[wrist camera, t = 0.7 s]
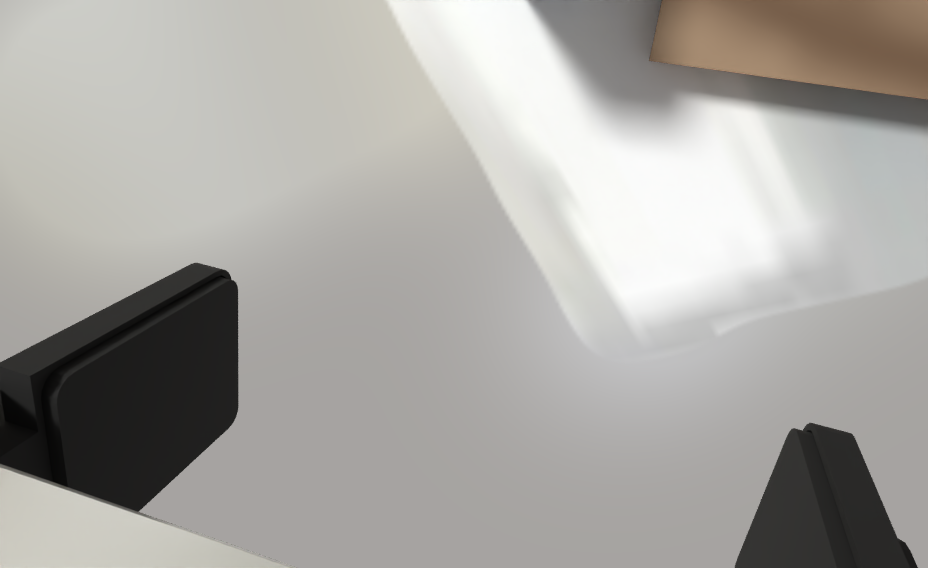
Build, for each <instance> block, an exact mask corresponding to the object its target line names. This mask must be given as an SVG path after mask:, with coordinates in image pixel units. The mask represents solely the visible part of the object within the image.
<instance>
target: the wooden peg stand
mask: <svg viewBox="0 0 928 568" xmlns="http://www.w3.org/2000/svg"><path fill="white" fill-rule="evenodd" d="M649 61H654V62H662V63H669V64H676V65H683V66H690V67H697V68H705V69H712V70H719V71H726V72H733V73H741V74H748V75H755V76H762V77H769V78H776V79H784V80H791V81H798V82H805V83H812V84H820V85H827V86H834V87H841V88H848V89H856V90H863V91H870V92H877V93H884V94H891V95H899V96H906V97H913V98H920V99H927V100H928V0H662V2H661V7H660V12H659V17H658V21H657V26H656V31H655V35H654V40H653V45H652V49H651V54H650V59H649Z"/></svg>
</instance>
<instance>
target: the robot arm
mask: <svg viewBox="0 0 928 568" xmlns="http://www.w3.org/2000/svg"><path fill="white" fill-rule="evenodd" d="M237 412H238V287H237V284H236V283H235V282H234V281H233V280H231V276H230V274H229V273H228V272H227V271H226V270H222V269H219V268H215V267H211V266H207V265H203V264H200V263H193V264H191V265H189V266H186V267H185V268H183V269H181V270H179V271H177V272H175V273H173V274H171V275H169V276H167V277H165V278H163V279H161V280H159V281H157V282H155V283H154V284H152V285H150V286H148V287H146V288H144V289H142V290H140V291H138V292H136V293H134V294H132V295H130V296H128V297H126V298H124V299H122V300H121V301H119V302H117V303H115V304H113V305H111V306H109V307H107V308H105V309H103V310H101V311H99V312H97V313H95V314H93V315H92V316H89V317H88V318H86V319H84V320H82V321H80V322H78V323H76V324H74V325H72V326H70V327H68V328H66V329H64V330H62V331H60V332H58V333H57V334H55V335H53V336H51V337H49V338H47V339H45V340H43V341H41V342H39V343H37V344H35V345H33V346H31V347H29V348H27V349H26V350H24V351H22V352H20V353H18V354H16V355H14V356H12V357H10V358H8V359H6V360H4V361H2V362H0V568H296V567H293V566H291V565H288V564H285V563H282V562H280V561H277V560H274V559H271V558H268V557H265V556H262V555H260V554H257V553H254V552H251V551H248V550H245V549H243V548H240V547H237V546H234V545H232V544H228V543H226V542H223V541H220V540H217V539H215V538H212V537H209V536H206V535H203V534H200V533H197V532H194V531H192V530H188V529H186V528H183V527H180V526H177V525H174V524H172V523H168V522H166V521H163V520H160V519H157V518H154V517H151V516H149V515H146V514H143V513H140V512H139V511H140V510H141V509H142V508H143V507H144V506H145V505H146V504H147V503H148V502H149V501H151V500H152V499H153V498H154V497H155V496H156V495H157V494H158V493H159V492H160V491H161V490H162V489H163V488H165V487H166V486H167V485H168V484H169V483H170V482H171V481H172V480H173V479H174V478H175V477H176V476H178V475H179V473H181V472H182V471H183V470H184V469H185V468H186V467H187V466H188V465H189V464H190V463H191V462H192V461H193V460H195V459H196V458H197V457H198V456H199V455H200V454H201V453H202V452H203V451H204V450H206V449H207V448H208V447H209V446H210V445H211V444H212V443H213V442H214V441H215V440H216V439H217V438H219V437H220V435H222V434H223V433H224V432H225V431H226V430H227V429H228V428H229V427H230V426H231V425H232V423H233V422H234V420H235V418H236V415H237ZM735 568H918V567H917V565H916V563H915V560H914V558H913V556H912V554H911V551H910V550H909V548H908V547H907V545H906V543H905V542H903V541H902V540H900V539H898V538H897V536H896V534H895V531H894V529H893V527H892V524H891V522H890V520H889V517H888V515H887V513H886V510H885V508H884V506H883V503H882V501H881V499H880V496H879V494H878V492H877V489H876V487H875V484H874V482H873V480H872V477H871V475H870V473H869V470H868V468H867V466H866V463H865V461H864V459H863V456H862V454H861V451H860V449H859V447H858V444H857V442H856V440H855V438H854V436H853V435H852V434H851V433H848V432H844V431H840V430H836V429H832V428H829V427H824V426H821V425H817V424H813V423H809V424H807V425H806V426H805V428H804V429H803V431H802V430H798V429H795V428H794V429H791V431H790V432H789V434H788V436H787V438H786V440H785V443H784V445H783V448H782V450H781V452H780V455H779V458H778V460H777V462H776V465H775V468H774V470H773V472H772V475H771V477H770V480H769V482H768V485H767V487H766V490H765V492H764V494H763V497H762V499H761V502H760V504H759V507H758V509H757V512H756V514H755V517H754V519H753V521H752V524H751V527H750V529H749V531H748V534H747V536H746V539H745V541H744V544H743V546H742V549H741V551H740V554H739V556H738V559H737V562H736V565H735Z"/></svg>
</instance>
